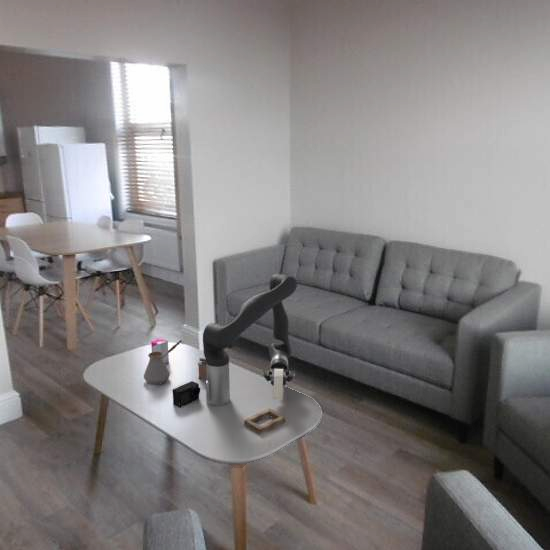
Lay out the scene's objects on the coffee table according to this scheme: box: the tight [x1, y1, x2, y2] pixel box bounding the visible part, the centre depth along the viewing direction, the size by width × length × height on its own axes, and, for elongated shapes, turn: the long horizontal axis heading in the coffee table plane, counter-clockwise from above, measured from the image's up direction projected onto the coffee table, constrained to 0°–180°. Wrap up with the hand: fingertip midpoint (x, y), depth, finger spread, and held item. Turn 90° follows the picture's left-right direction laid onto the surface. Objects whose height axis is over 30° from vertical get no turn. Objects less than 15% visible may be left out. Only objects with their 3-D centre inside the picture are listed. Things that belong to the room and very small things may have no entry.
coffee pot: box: [143, 339, 184, 386], centre depth 236 cm, size 21×12×15 cm, turn 141°
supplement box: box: [150, 338, 170, 365], centre depth 251 cm, size 6×6×12 cm
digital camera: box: [172, 380, 201, 409], centre depth 215 cm, size 10×5×7 cm, turn 139°
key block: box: [273, 369, 284, 400], centre depth 211 cm, size 4×7×10 cm, turn 178°
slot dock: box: [243, 407, 286, 435], centre depth 200 cm, size 13×9×2 cm
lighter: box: [197, 357, 207, 381], centre depth 235 cm, size 8×3×10 cm, turn 74°
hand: (278, 383), depth 209 cm, fingers closed on key block, 3 cm apart
